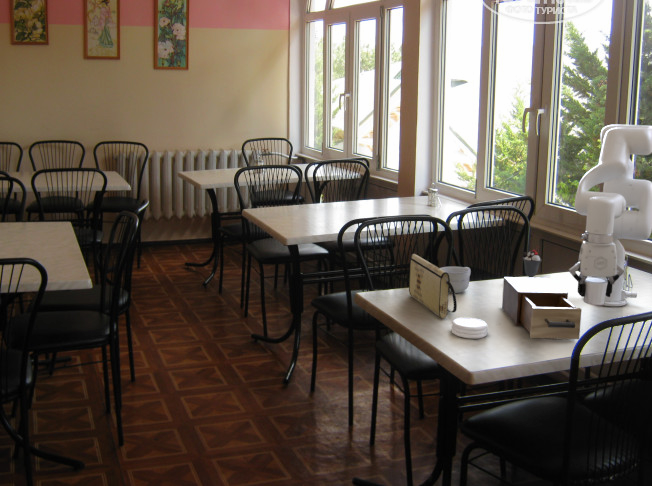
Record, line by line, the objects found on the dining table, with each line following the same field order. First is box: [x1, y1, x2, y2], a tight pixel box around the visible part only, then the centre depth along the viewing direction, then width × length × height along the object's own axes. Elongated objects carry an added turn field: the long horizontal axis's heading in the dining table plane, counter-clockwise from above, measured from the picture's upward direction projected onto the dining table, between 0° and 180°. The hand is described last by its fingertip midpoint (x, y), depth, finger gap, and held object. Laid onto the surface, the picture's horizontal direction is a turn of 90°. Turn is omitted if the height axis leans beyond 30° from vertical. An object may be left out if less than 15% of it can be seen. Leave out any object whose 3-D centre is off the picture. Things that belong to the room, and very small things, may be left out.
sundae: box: [521, 245, 543, 278], centre depth 266 cm, size 7×7×15 cm
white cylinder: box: [583, 277, 608, 306], centre depth 222 cm, size 7×7×7 cm
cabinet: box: [501, 276, 569, 327], centre depth 229 cm, size 18×15×11 cm
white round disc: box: [451, 316, 488, 340], centre depth 214 cm, size 10×10×4 cm
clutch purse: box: [408, 253, 458, 320], centre depth 239 cm, size 30×7×15 cm, turn 12°
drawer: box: [519, 295, 582, 340], centre depth 213 cm, size 22×13×9 cm, turn 178°
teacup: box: [439, 266, 472, 294], centre depth 259 cm, size 14×11×8 cm
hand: (594, 295), depth 222 cm, fingers closed on white cylinder, 6 cm apart
